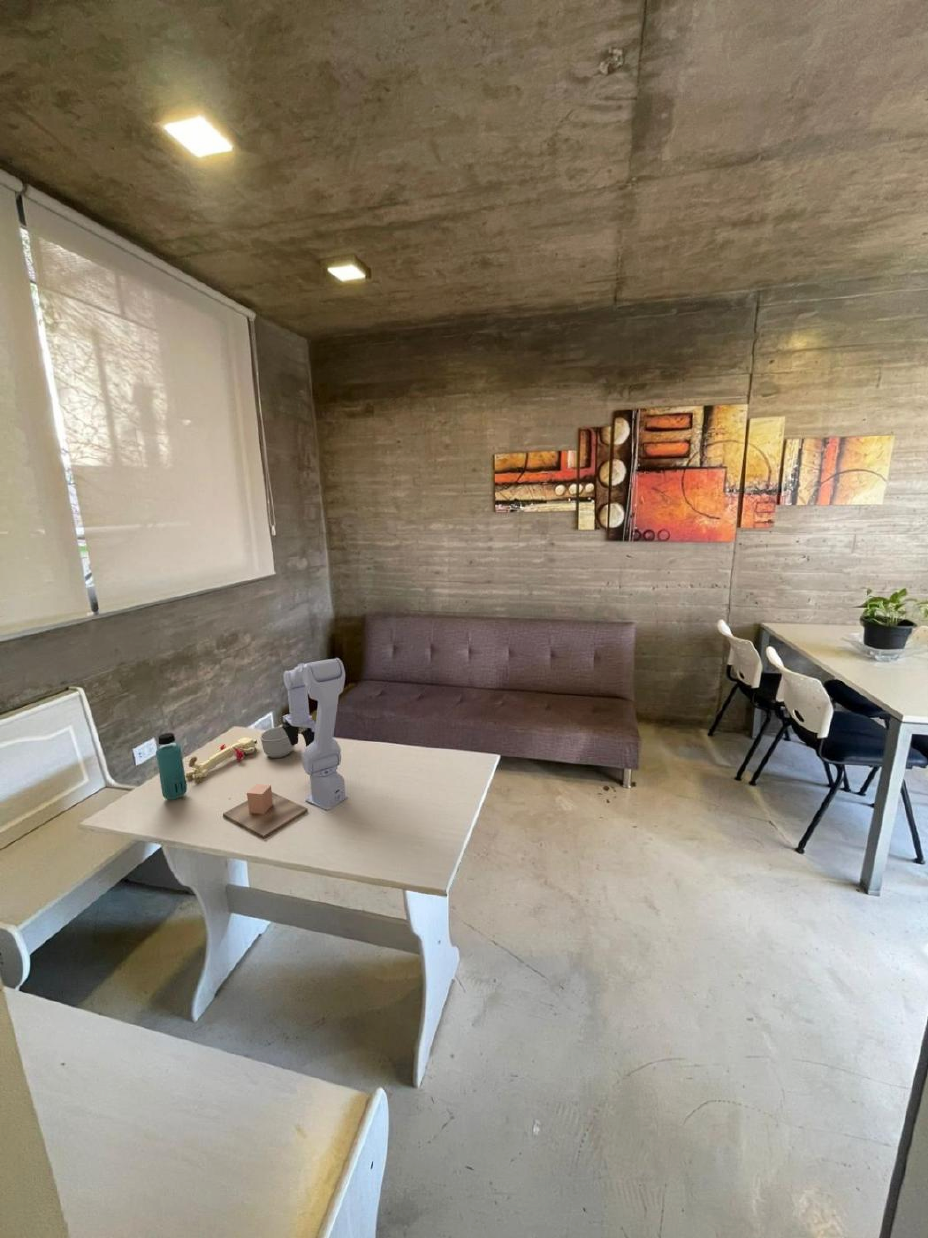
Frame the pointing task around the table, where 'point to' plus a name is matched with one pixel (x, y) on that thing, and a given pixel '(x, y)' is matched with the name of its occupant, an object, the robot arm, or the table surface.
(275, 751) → the teacup
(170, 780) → the beverage bottle
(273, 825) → the board
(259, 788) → the block
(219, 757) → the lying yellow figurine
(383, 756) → the table surface
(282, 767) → the table surface
